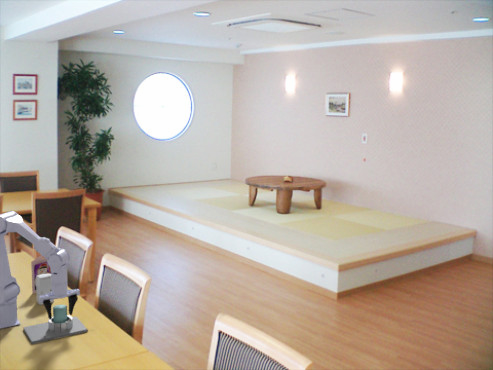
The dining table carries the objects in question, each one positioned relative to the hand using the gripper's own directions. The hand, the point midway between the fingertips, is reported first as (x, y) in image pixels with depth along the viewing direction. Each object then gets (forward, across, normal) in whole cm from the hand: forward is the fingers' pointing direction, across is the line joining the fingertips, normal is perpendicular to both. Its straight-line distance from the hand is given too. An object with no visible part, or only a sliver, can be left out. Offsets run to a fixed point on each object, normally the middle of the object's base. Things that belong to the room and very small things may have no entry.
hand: (60, 316), depth 200 cm
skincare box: (+6, +2, +31) cm, 32 cm away
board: (+5, -2, 0) cm, 6 cm away
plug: (+4, 0, 0) cm, 4 cm away
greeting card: (+6, +4, +48) cm, 48 cm away
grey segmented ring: (+4, 0, 0) cm, 4 cm away
